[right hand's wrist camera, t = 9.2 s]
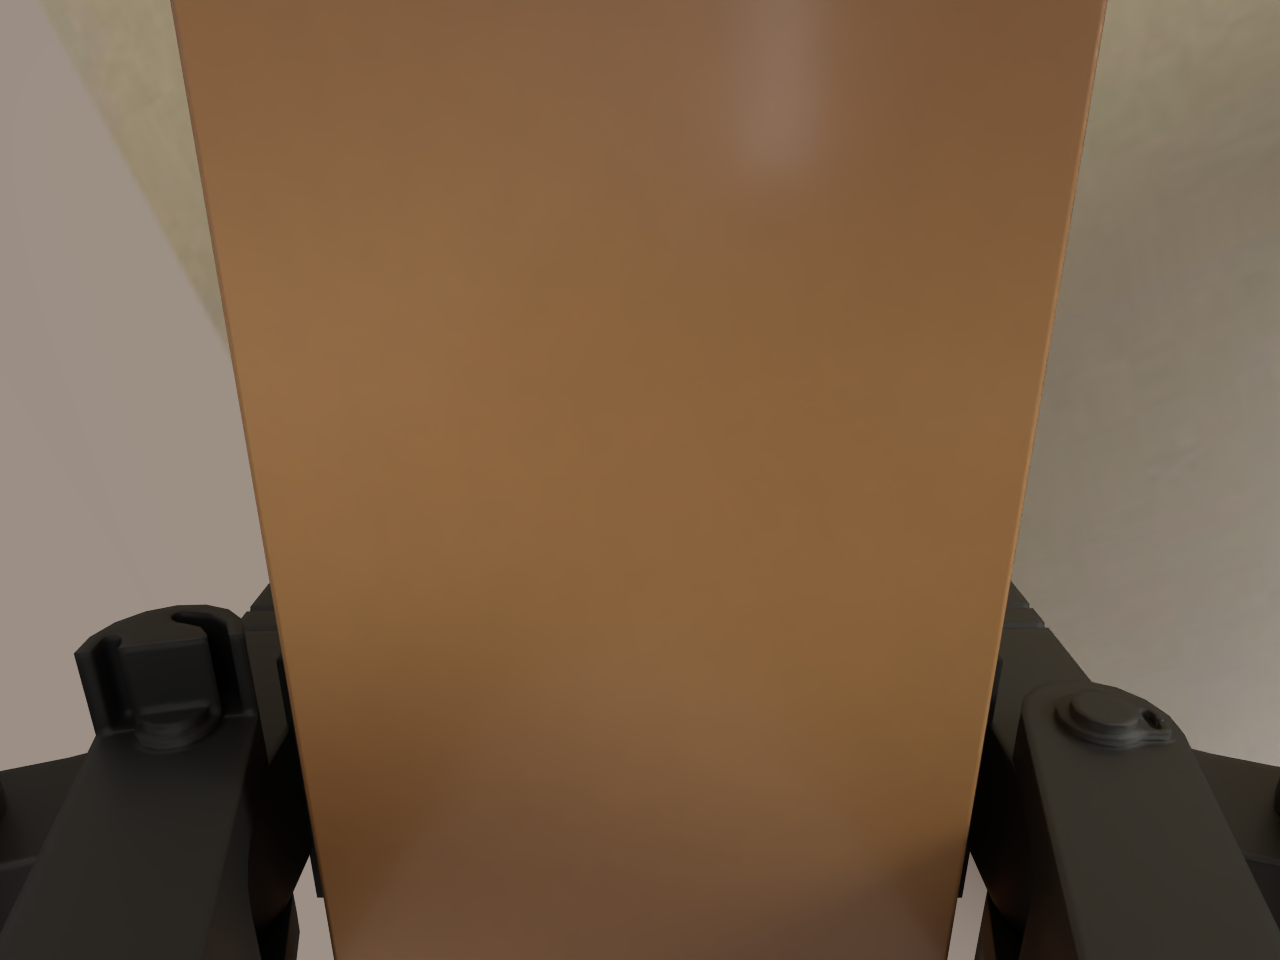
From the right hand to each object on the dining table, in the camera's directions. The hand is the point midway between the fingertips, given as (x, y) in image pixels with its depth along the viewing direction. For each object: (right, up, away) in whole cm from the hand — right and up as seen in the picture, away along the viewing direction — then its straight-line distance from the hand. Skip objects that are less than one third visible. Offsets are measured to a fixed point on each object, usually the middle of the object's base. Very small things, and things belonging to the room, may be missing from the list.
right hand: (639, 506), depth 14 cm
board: (0, +21, -7) cm, 22 cm away
